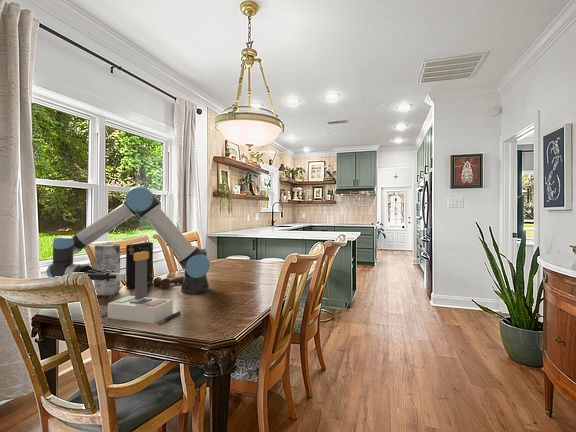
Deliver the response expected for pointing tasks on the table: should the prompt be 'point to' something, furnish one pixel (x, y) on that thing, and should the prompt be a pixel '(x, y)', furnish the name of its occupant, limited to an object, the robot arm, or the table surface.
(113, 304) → the breaker housing
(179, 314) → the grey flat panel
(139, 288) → the lever
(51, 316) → the table surface
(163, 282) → the kendama
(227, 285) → the table surface
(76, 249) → the robot arm
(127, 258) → the voltmeter
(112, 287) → the juice carton
